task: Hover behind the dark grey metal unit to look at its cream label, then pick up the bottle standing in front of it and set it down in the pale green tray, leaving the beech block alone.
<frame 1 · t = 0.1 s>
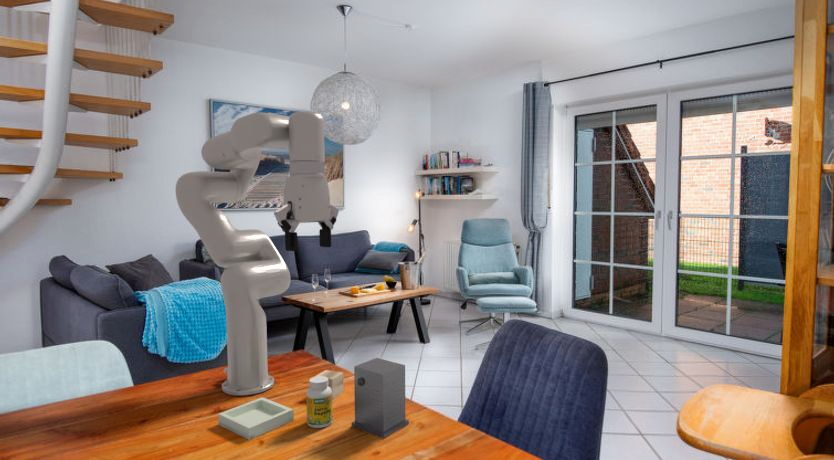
hand: (309, 248, 112), 37 cm above the table, tool pointing down, fingers open, 9 cm apart
beech block: (329, 394, 124), on the table
supplement bottle: (319, 424, 108), on the table
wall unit: (380, 425, 107), on the table
tray: (256, 422, 108), on the table
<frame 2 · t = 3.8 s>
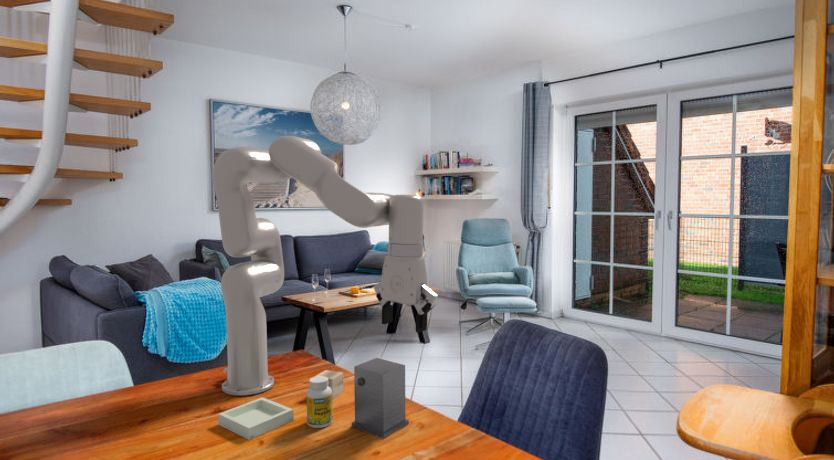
hand: (403, 327, 113), 19 cm above the table, tool pointing down, fingers open, 9 cm apart
nothing on the table moved.
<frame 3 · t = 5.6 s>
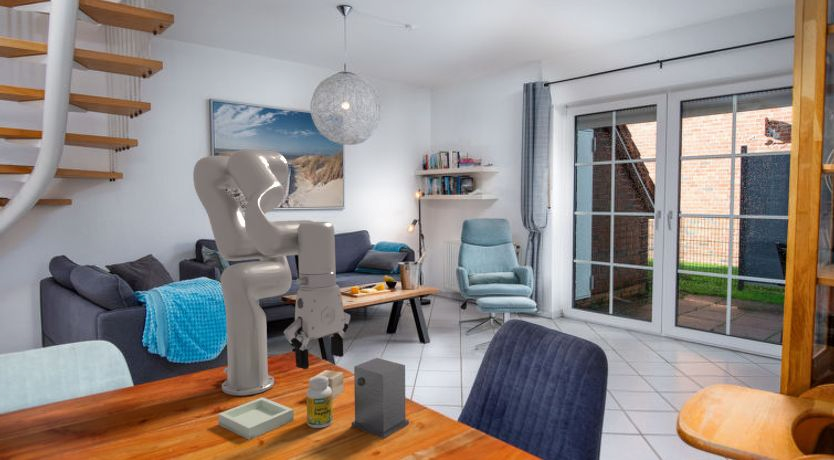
hand: (320, 361, 107), 14 cm above the table, tool pointing down, fingers open, 9 cm apart
nothing on the table moved.
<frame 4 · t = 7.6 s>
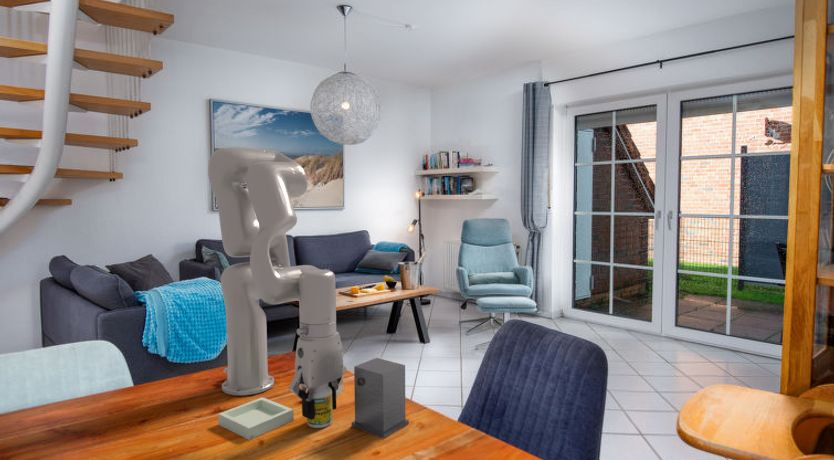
hand: (319, 411, 108), 2 cm above the table, tool pointing down, fingers closed on supplement bottle, 5 cm apart
supplement bottle: (319, 423, 108), on the table, touching gripper
everything else where it was.
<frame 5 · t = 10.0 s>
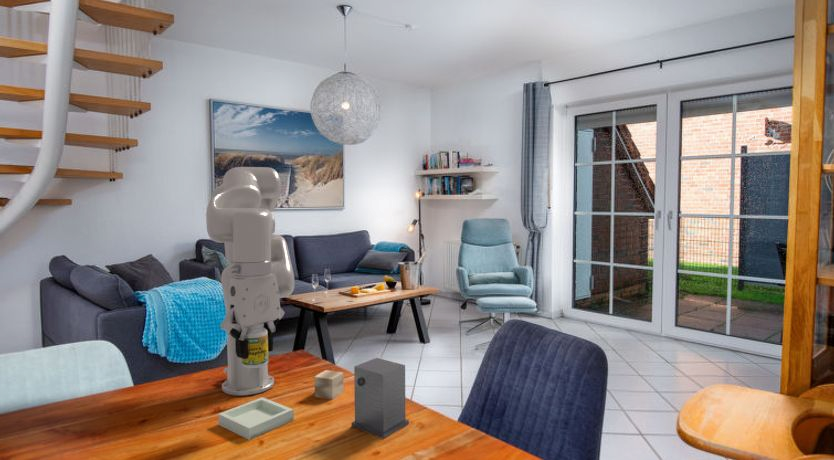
hand: (255, 352, 108), 15 cm above the table, tool pointing down, fingers closed on supplement bottle, 5 cm apart
supplement bottle: (255, 365, 108), point 12 cm above the table, touching gripper
everything else where it was.
when the fingers open (5 cm above the table, at t = 12.7 s): supplement bottle drops 1 cm, resting on tray.
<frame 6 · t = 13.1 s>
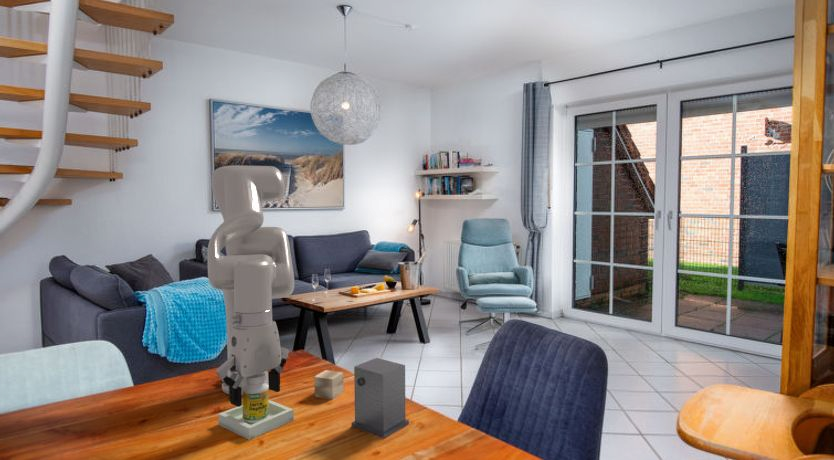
hand: (255, 397, 108), 6 cm above the table, tool pointing down, fingers open, 9 cm apart
supplement bottle: (255, 419, 108), point 1 cm above the table, touching tray
everything else where it was.
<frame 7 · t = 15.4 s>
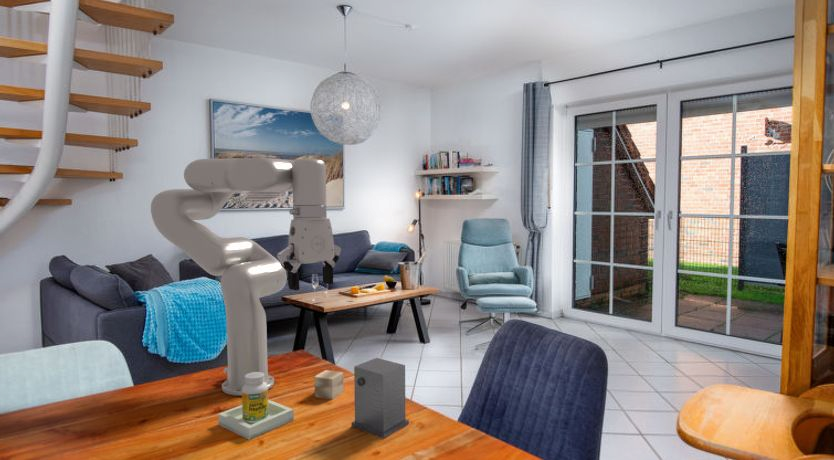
hand: (311, 286, 118), 27 cm above the table, tool pointing down, fingers open, 9 cm apart
nothing on the table moved.
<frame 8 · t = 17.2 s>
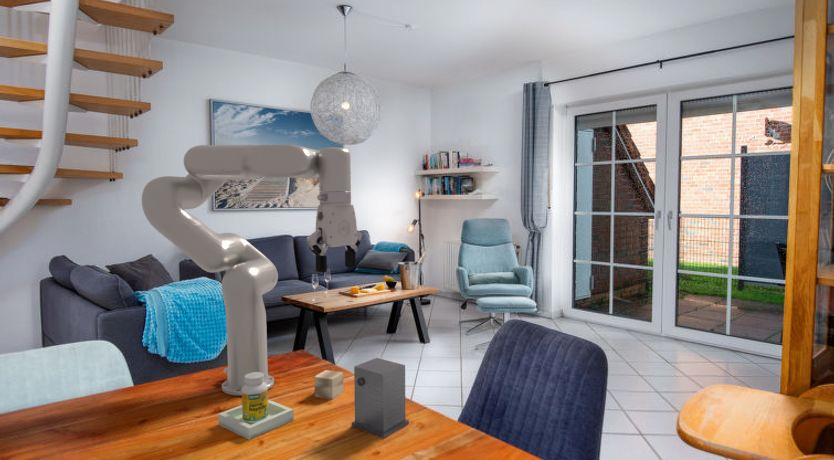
hand: (336, 269, 124), 30 cm above the table, tool pointing down, fingers open, 9 cm apart
nothing on the table moved.
at the end: supplement bottle inside the target area on the tray (0.2 cm from its centre), point 0.6 cm above the tray's base; supplement bottle tilted 0°; the gripper is holding nothing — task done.
